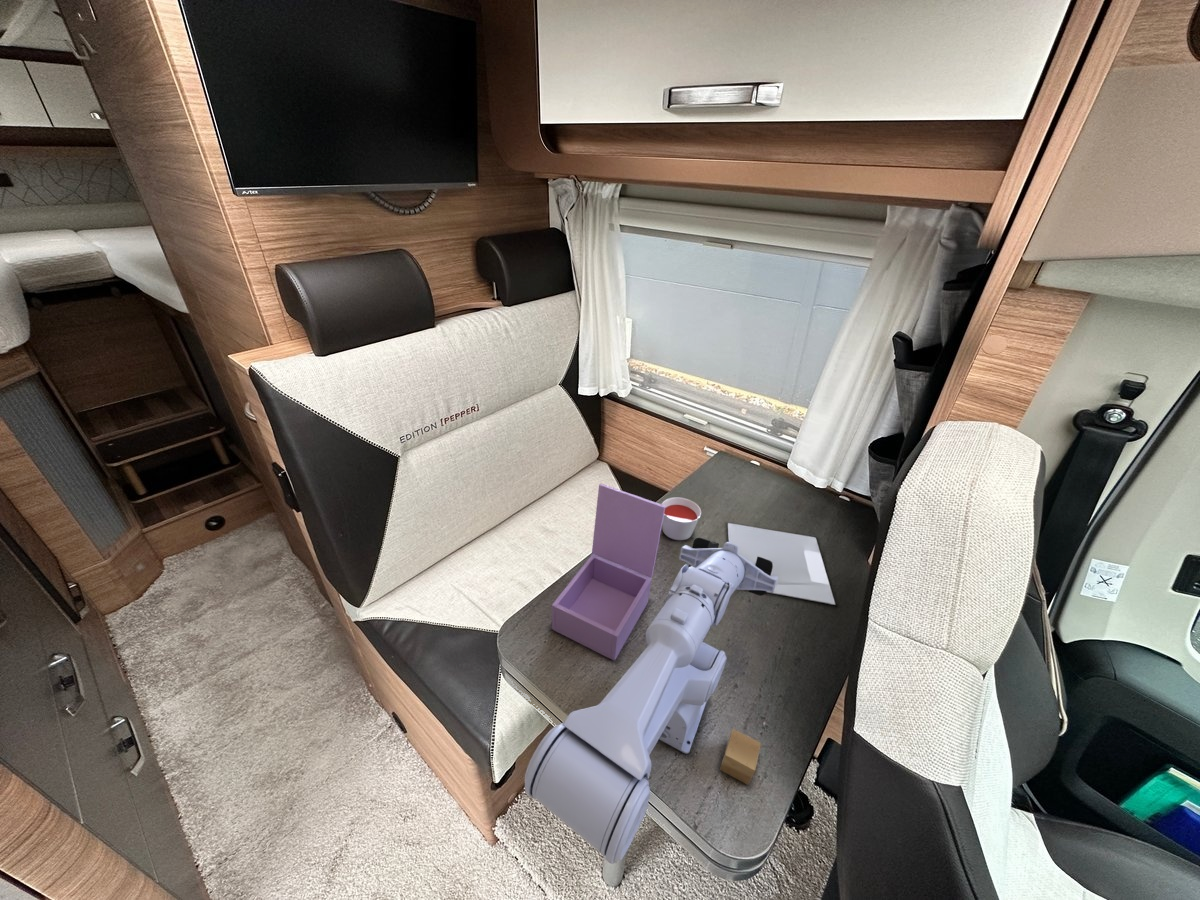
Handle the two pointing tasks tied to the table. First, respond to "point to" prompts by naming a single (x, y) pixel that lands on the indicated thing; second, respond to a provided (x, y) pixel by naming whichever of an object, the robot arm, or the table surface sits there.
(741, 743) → the block
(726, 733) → the table surface
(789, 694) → the table surface
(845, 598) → the table surface
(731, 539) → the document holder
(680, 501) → the candle
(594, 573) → the open box
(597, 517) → the purple box lid
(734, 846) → the table surface
